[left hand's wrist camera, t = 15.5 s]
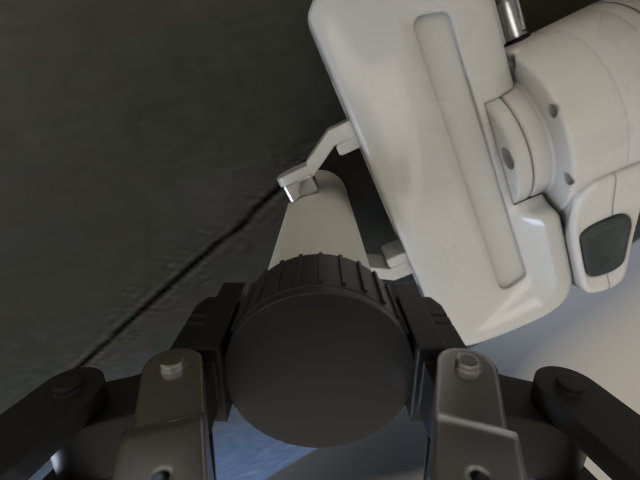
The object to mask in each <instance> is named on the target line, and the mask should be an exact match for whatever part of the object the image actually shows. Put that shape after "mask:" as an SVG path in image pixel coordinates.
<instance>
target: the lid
mask: <svg viewBox="0 0 640 480" xmlns="http://www.w3.org/2000/svg"><path fill="white" fill-rule="evenodd" d="M229 333H231V334H232V336H231V339H230V341H229V344H228V347H227V350H226V354H225V357H224V363H225V373H226V382H227V390H228V395H229V397H230V399H231V401H232V403H233V405H234V406H235V408H236V409H237V410H238V412H239V413H240V414H241V416H242V417H243V418H244V419H245V420H246V421H247V422H248V423H250V424H251V425H252V426H254V427H255V428H256V429H257V430H259V431H261V432H262V433H264V434H266V435H268V436H270V437H272V438H274V439H276V440H279V441H282V442H285V443H288V444H292V445H296V446H303V447H313V448H325V447H336V446H342V445H346V444H350V443H354V442H357V441H359V440H362V439H365V438H367V437H369V436H371V435H373V434H375V433H376V432H378V431H379V430H381V429H382V428H384V427H385V426H386V425H387V424H389V423H390V422H391V421H392V420H393V419H394V418H395V417H396V416H397V415H398V414H399V413H400V411H401V410H402V408H403V407H404V406H405V404H406V402H407V400H408V398H409V396H410V388H411V379H412V369H413V359H414V355H413V352H412V348H411V345H410V343H409V340H408V338H407V336H410V334H409V331H408V328H407V326H406V323H405V321H404V318H403V316H402V313H401V310H400V308H399V305H398V303H397V300H396V298H393V296H392V293H391V290H390V288H389V285H388V284H387V283H386V284H384V283H383V282H382V280H381V279H380V278H379V277H378V275H377V272H376V271H373V272H372V271H371V270H370V269H368V268H366V267H365V266H363V265H362V264H361V262H360V261H357V262H355V261H353V260H351V259H348V258H345V257H343V255H341V254H339V255H338V256H336V255H330V254H323V252H319V254H308V255H303V254H299V256H297V257H294V258H291V259H288V260H285V261H284V260H281V261H280V263H279V264H277V265H275V266H274V267H272V268H271V269H269V270H267V269H266V270H264V272H263V275H262V276H261V277H260V278H259V279H258V280H257V281H256V282H252V284H251V286H250V289H249V291H248V294H247V296H246V297H245V296H244V297H243V299H242V302H241V305H240V307H239V310H238V312H237V315H236V317H235V320H234V322H233V325H232V327H231V330H230V332H229Z"/></svg>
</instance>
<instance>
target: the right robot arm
mask: <svg viewBox="0 0 640 480" xmlns="http://www.w3.org/2000/svg"><path fill="white" fill-rule="evenodd" d="M308 25H309V29H310V32H311V34H312V37H313V39H314V42H315V44H316V46H317V49H318V51H319V53H320V56H321V58H322V61H323V63H324V65H325V68H326V70H327V72H328V75H329V77H330V80H331V82H332V84H333V87H334V89H335V91H336V94H337V96H338V99H339V101H340V103H341V106H342V108H343V110H344V113H345V115H346V117H347V119H345V120H343V121H341V122H339V123H337V124H335V125H333V126H331V127H329V128H327V129H326V131H325V132H324V134H323V135H322V137H321V138H320V140H319V141H318V143H317V144H316V146H315V147H314V149H313V150H312V152H311V153H310V155H309V156H308V158H307V161H306V162H303V163H301V164H299V165H297V166H295V167H293V168H291V169H289V170H287V171H285V172H283V173H282V174H280V175H279V176H278V178H277V180H278V183H279V185H280V187H281V188H282V190H283V192H284V194H285V196H286V198H287V199H288V201H289V203H293V202H295V201H297V200H299V199H300V198H301V196H302V195H304V196H307V195H311V194H313V193H315V192H317V191H319V188H318V186H319V184H318V181H317V179H316V177H315V175H314V174H315V173H316V172H317V170H318V169H319V167H320V166H321V165H322V163H323V162H324V160H325V159H326V157H327V156H328V155H329V153H330V152H331V150H332V149H333V147H334V146H336V148H337V150H338V153H339V155H344V154H346V153H349V152H351V151H353V150H355V149H357V148H360V151H361V153H362V155H363V158H364V160H365V163H366V165H367V167H368V170H369V172H370V174H371V177H372V179H373V182H374V184H375V186H376V189H377V191H378V193H379V196H380V198H381V201H382V203H383V205H384V208H385V210H386V212H387V215H388V217H389V220H390V222H391V224H392V227H393V229H394V231H395V234H396V236H397V239H396V240H394V241H392V242H389V243H387V244H385V245H383V246H382V247H381V249H382V252H383V254H384V255H377V254H366V256H367V259H368V262H369V266H370V269H371V271H372V272H373V271H376V272H377V275H378V277H379V278H380V279H386V280H397V279H399V278H402V277H404V276H407V275H409V274H413V277H414V279H415V281H416V284H417V286H418V288H419V291H420V293H421V296H422V297H431V298H432V299H434V300H435V301H436V302H438V303H439V304H440V305H442V307H443V309H444V310H445V312H446V314H447V317H449V319H450V320H451V322H452V325H454V327H455V329H456V330H457V332H458V334H459V335H460V337H461V339H462V340H463V342H464V344H465V345H472V344H476V343H480V342H482V341H485V340H488V339H491V338H494V337H497V336H499V335H502V334H504V333H507V332H509V331H512V330H514V329H517V328H519V327H521V326H524V325H526V324H528V323H530V322H532V321H535V320H537V319H539V318H541V317H543V316H545V315H547V314H548V313H550V312H552V311H553V310H554V309H556V308H557V307H558V306H559V305H560V304H561V303H562V302H563V301H564V300H565V299H566V297H567V296H568V294H569V292H570V289H571V284H573V285H575V286H577V287H578V288H580V289H582V290H584V291H585V292H588V293H597V292H600V291H604V290H607V289H609V288H612V287H614V286H615V285H617V284H619V283H620V282H621V281H622V279H623V278H624V276H625V273H626V270H627V266H628V260H629V255H630V250H631V245H632V240H633V235H634V231H635V227H636V223H637V219H638V216H639V212H640V0H601V1H598V2H595V3H593V4H590V5H588V6H586V7H584V8H582V9H580V10H578V11H576V12H574V13H572V14H570V15H568V16H566V17H564V18H562V19H560V20H558V21H556V22H554V23H552V24H550V25H548V26H545V27H543V28H541V29H539V30H537V31H535V32H533V33H529V34H528V30H527V26H526V21H525V18H524V13H523V9H522V5H521V1H520V0H313V1H312V4H311V7H310V10H309V13H308Z"/></svg>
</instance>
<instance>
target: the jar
mask: <svg viewBox="0 0 640 480" xmlns="http://www.w3.org/2000/svg"><path fill="white" fill-rule="evenodd" d="M314 175H315V177H316V179H317V181H318V184H319V186H318V188H319V191H317V192H315V193H313V194H311V195H307V196H304V195H302V196H301V198H300V199H299V200H297V201H295V202H293V203H289V204H288V207H287V211H286V214H285V217H284V220H283V223H282V227H281V230H280V233H279V236H278V239H277V243H276V246H275V249H274V252H273V256H272V259H271V262H270V265H269V268H268V270H269V269H271V268H272V267H274V266H275V265H277V264H279V263H280V261H281V260H284V261H285V260H288V259H291V258H294V257H297V256H299V254H303V255H308V254H319V252H323V254H330V255H336V256H338V255H339V254H341V255H343V257H345V258H348V259H351V260H353V261H355V262H357V261H360V262H361V264H362V265H363V266H365V267H366V268H368V269H370V266H369V262H368V259H367V256H366V253H365V249H364V246H363V243H362V240H361V236H360V233H359V230H358V227H357V223H356V220H355V217H354V214H353V210H352V207H351V204H350V201H349V197H348V194H347V191H346V188H345V185H344V184H343V182H342V181H341V179H340V178H339V177H338V176H336V175H335V174H333V173H332V172H329V171H326V170H317V172H316V173H315V174H314ZM370 270H371V269H370Z"/></svg>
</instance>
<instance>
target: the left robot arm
mask: <svg viewBox="0 0 640 480" xmlns="http://www.w3.org/2000/svg"><path fill="white" fill-rule="evenodd" d="M389 288H390V290H391V293H392V296H393V298H396V300H397V303H398V305H399V308H400V310H401V313H402V316H403V318H404V321H405V323H406V326H407V328H408V331H409V334H410V336H407V338H408V340H409V343H410V345H411V348H412V352H413V355H414V359H413V369H412V379H411V388H410V396H409V398H408V400H407V402H406V407H407V410H408V414H409V417H410V420H411V421H423V422H424V425H425V428H426V431H427V441H426V452H425V465H424V477H423V480H598V479H596V478H595V477H594V476H593V475H592V474H591V473H590V472H589V471H588V470H587V469H586V468H585V467H584V463H585V460H586V457H587V456H588V457H589V458H590V459H591V460H592V461H593V462H594V463H595V464H596V465H597V466H598V467H599V468H600V469H601V470H603V471H604V472H605V473H606V474H607V475H608V476H609V477H610V478H611V479H612V480H640V415H639V414H637V413H636V412H635V411H633V410H632V409H631V408H629V407H628V406H627V405H625V404H624V403H622V402H621V401H620V400H618V399H617V398H616V397H614V396H613V395H612V394H610V393H609V392H607V391H606V390H605V389H603V388H602V387H601V386H599V385H598V384H597V383H595V382H594V381H592V380H591V379H590V378H588V377H586V376H584V375H583V374H580V373H578V372H576V371H573V370H570V369H567V368H563V367H556V366H547V367H543V368H540V369H538V370H537V371H536V373H535V376H534V380H533V382H531V381H526V380H522V379H517V378H513V377H508V376H504V375H501V374H498V370H497V368H496V366H495V365H494V363H493V362H492V361H491V360H490V359H488V358H487V357H486V356H484V355H482V354H480V353H478V352H476V351H473V350H469V349H467V347H466V345H465V344H464V342H463V340H462V339H461V337H460V335H459V334H458V332H457V330H456V329H455V327H454V325H452V322H451V320H450V319H449V317H447V314H446V312H445V310H444V309H443V307H442V305H440V304H439V303H438V302H436V301H435V300H434V299H432V298H431V297H421V295H420V293H419V292H418V290H417V288H416V286H415V284H414V283H413V282H391V283H390V287H389ZM248 291H249V287H248V283H224V284H223V286H222V288H221V290H220V292H219V294H218V296H217V297H208V298H206V299H205V300H203V301H202V302H201V303H199V304H198V305H197V306H196V307H195V309H194V310H193V312H192V314H191V317H189V319H188V320H187V322H186V325H184V327H183V329H182V330H181V332H180V333H179V335H178V337H177V338H176V340H175V342H174V343H173V345H172V347H171V348H170V350H167V351H164V352H162V353H160V354H158V355H156V356H154V357H153V358H152V359H150V360H149V361H148V362H147V363H146V364H145V366H144V368H143V370H142V373H141V374H138V375H135V376H131V377H127V378H123V379H118V380H113V381H109V382H105V378H104V375H103V373H102V372H101V371H100V370H99V369H96V368H91V367H83V368H76V369H72V370H68V371H66V372H63V373H61V374H58V375H56V376H54V377H53V378H51V379H49V380H48V381H46V382H45V383H43V384H42V385H41V386H39V387H38V388H37V389H35V390H34V391H32V392H31V393H30V394H28V395H27V396H26V397H24V398H23V399H22V400H20V401H19V402H18V403H16V404H15V405H13V406H12V407H11V408H9V409H8V410H7V411H5V412H4V413H3V414H1V415H0V480H28V479H29V478H30V477H31V476H32V475H33V474H34V473H35V472H36V471H38V470H39V469H40V468H41V467H42V466H43V465H44V464H45V463H46V462H47V461H48V460H49V459H50V460H51V462H52V465H53V468H54V469H53V470H52V471H51V472H50V473H49V474H48V475H47V476H46V477H45V478H43V479H42V480H217V477H216V464H215V452H214V440H213V433H212V427H213V424H214V421H227V420H228V417H229V413H230V410H231V406H232V401H231V399H230V397H229V395H228V390H227V382H226V373H225V363H224V357H225V354H226V350H227V347H228V344H229V341H230V339H231V336H232V334H231V333H229V332H230V330H231V327H232V325H233V322H234V320H235V317H236V315H237V312H238V310H239V307H240V305H241V302H242V299H243V297H244V296H245V297H246V296H247V294H248Z"/></svg>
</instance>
